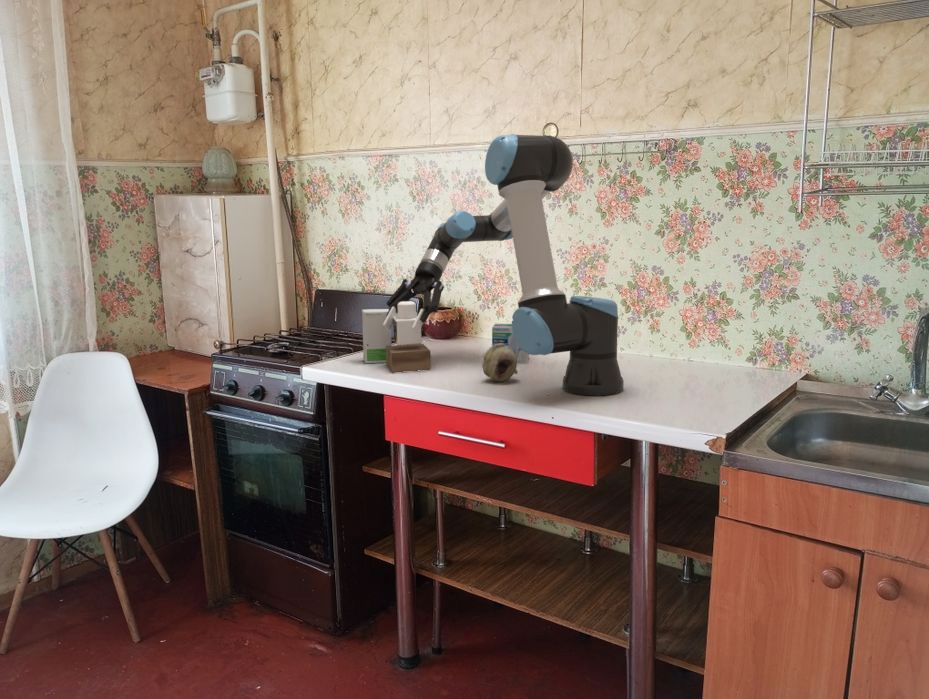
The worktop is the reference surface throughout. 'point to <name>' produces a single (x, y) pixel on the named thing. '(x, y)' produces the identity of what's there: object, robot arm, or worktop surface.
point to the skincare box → (375, 335)
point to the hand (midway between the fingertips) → (400, 328)
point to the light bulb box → (508, 340)
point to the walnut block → (408, 357)
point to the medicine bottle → (406, 323)
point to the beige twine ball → (499, 363)
